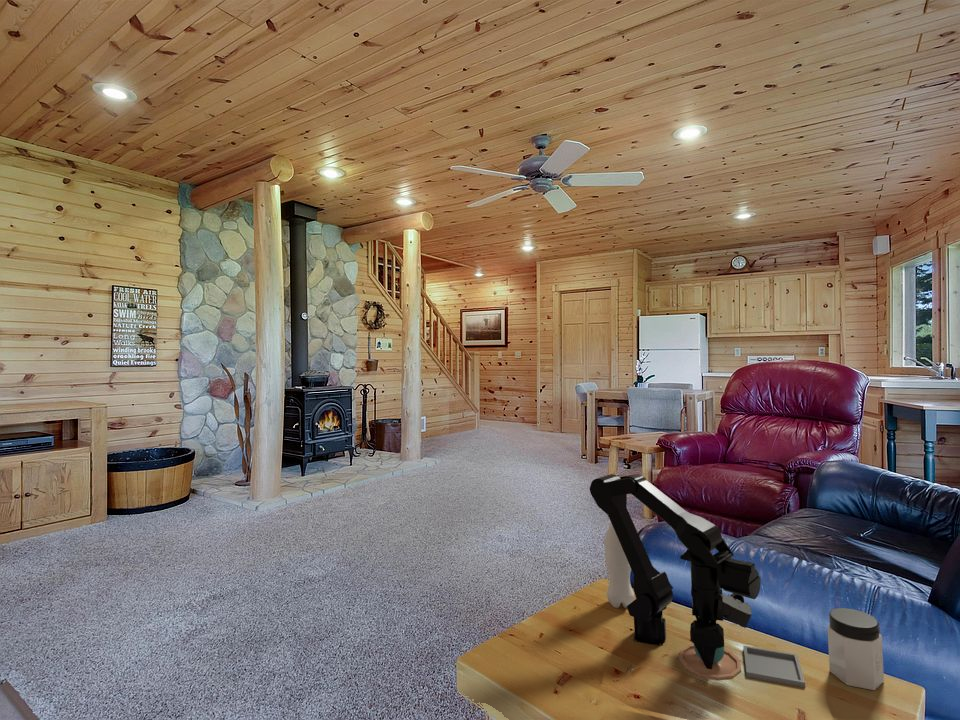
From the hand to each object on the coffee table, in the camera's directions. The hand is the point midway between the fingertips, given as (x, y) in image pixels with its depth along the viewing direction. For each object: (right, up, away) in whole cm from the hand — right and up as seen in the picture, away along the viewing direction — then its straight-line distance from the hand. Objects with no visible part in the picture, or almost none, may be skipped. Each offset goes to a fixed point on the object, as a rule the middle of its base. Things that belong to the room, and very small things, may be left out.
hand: (709, 656), depth 110 cm
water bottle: (-11, -2, +28) cm, 30 cm away
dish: (0, -2, 0) cm, 2 cm away
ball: (0, -1, 0) cm, 1 cm away
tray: (+12, -1, -3) cm, 12 cm away
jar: (+27, -1, -7) cm, 28 cm away
